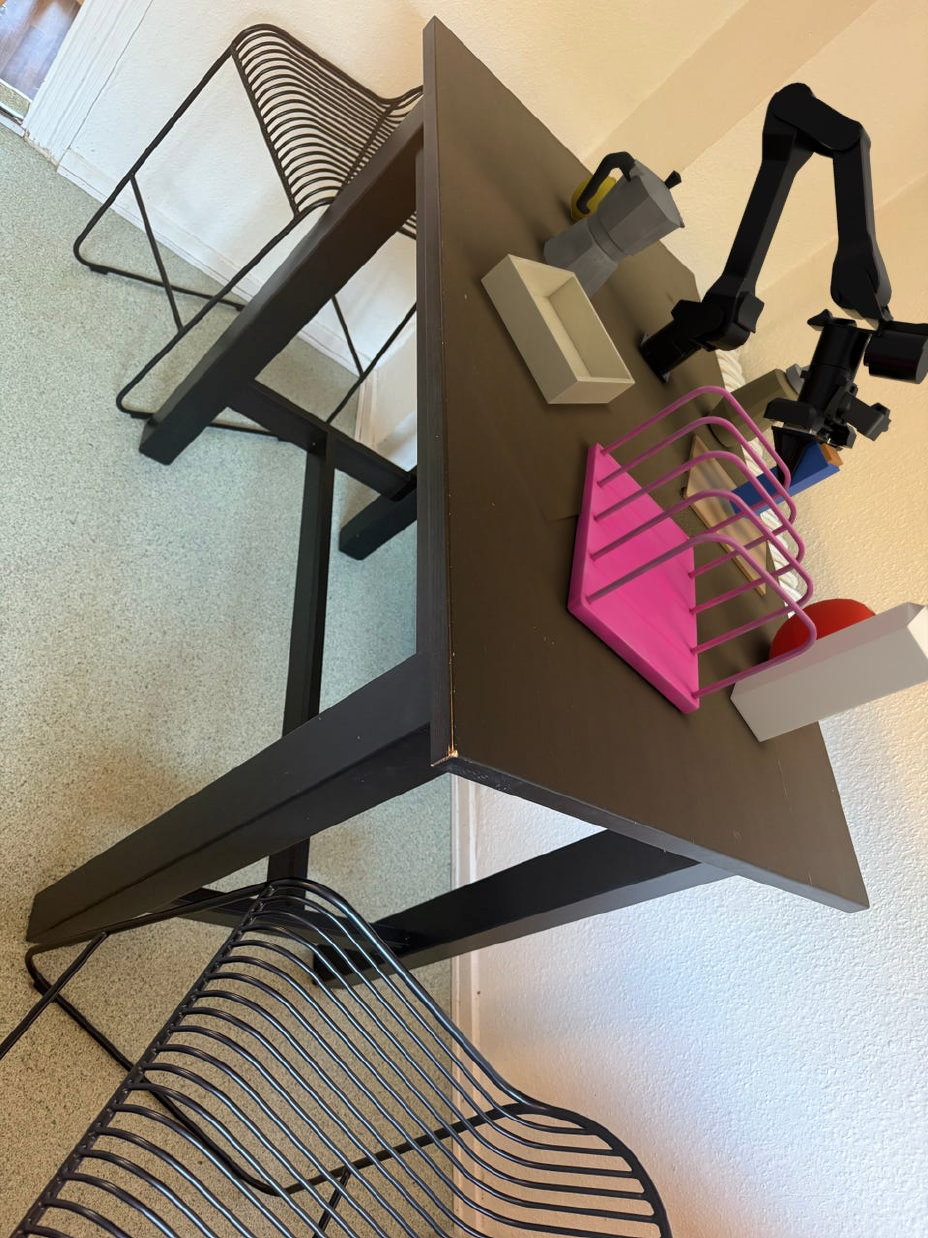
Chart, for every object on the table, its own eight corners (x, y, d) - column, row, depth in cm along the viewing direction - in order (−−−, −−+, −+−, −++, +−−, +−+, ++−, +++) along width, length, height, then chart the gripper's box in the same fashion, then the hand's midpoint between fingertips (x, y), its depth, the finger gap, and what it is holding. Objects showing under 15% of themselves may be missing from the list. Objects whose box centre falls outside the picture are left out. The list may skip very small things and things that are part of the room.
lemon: (583, 240, 120) (627, 200, 116) (558, 210, 118) (602, 169, 113) (584, 225, 124) (627, 187, 120) (561, 196, 122) (603, 156, 117)
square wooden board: (693, 436, 118) (696, 434, 118) (763, 527, 123) (766, 525, 123) (682, 496, 104) (686, 494, 104) (761, 596, 109) (765, 594, 109)
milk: (738, 672, 93) (939, 585, 80) (767, 715, 93) (972, 636, 81) (728, 699, 88) (942, 610, 75) (759, 744, 89) (976, 664, 76)
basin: (544, 297, 100) (573, 271, 97) (604, 405, 98) (635, 383, 96) (476, 283, 87) (508, 253, 85) (544, 406, 86) (578, 380, 84)
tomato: (801, 740, 98) (923, 696, 89) (747, 678, 94) (869, 627, 86) (796, 669, 107) (906, 624, 99) (747, 611, 103) (857, 559, 95)
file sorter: (680, 549, 96) (806, 479, 87) (683, 717, 79) (841, 652, 69) (584, 449, 89) (711, 362, 80) (565, 610, 71) (724, 522, 62)
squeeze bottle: (733, 440, 132) (841, 374, 121) (730, 461, 126) (844, 393, 115) (704, 401, 130) (812, 330, 119) (700, 420, 123) (813, 347, 113)
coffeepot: (585, 275, 114) (697, 181, 104) (600, 324, 110) (718, 231, 99) (511, 214, 104) (627, 102, 93) (525, 265, 100) (648, 154, 89)
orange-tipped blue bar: (725, 493, 111) (822, 438, 103) (739, 497, 115) (833, 444, 107) (736, 516, 110) (834, 462, 102) (750, 519, 114) (845, 467, 106)
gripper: (879, 364, 92) (828, 499, 96) (915, 395, 107) (869, 511, 111) (784, 348, 99) (740, 475, 103) (830, 380, 113) (790, 490, 117)
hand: (789, 489), depth 108 cm, fingers closed on orange-tipped blue bar, 5 cm apart
